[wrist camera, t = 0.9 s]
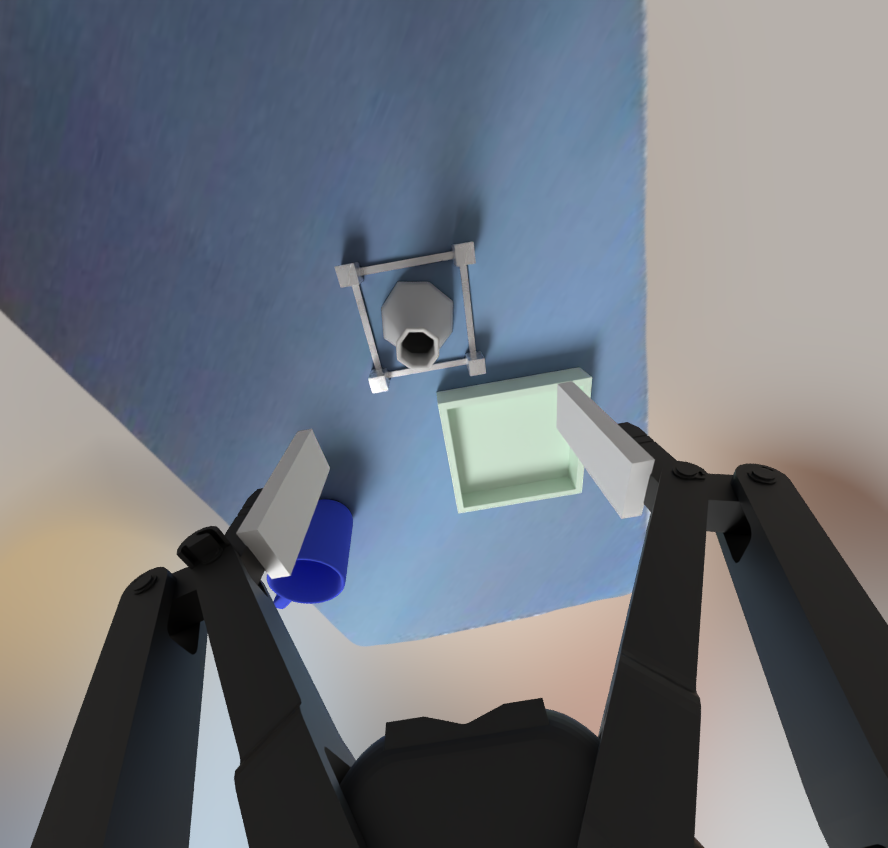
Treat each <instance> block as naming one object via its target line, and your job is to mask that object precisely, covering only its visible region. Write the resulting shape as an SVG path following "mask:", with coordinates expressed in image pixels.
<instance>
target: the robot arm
mask: <svg viewBox="0 0 888 848" xmlns="http://www.w3.org/2000/svg"><path fill="white" fill-rule="evenodd" d="M556 428H557V429H558V431H559V432H560V434H561V435H562V436H563V438H564V439H565V441H566V442H567V443H568V445H569V446H570V448H571V449H572V450H573V452H574V453H575V455H576V456H577V457H578V459H579V460H580V461H581V463H582V464H583V466H584V467H585V468H586V470H587V471H588V473H589V474H590V475H591V477H592V478H593V480H594V481H595V482H596V484H597V485H598V487H599V488H600V489H601V491H602V492H603V494H604V495H605V496H606V498H607V499H608V501H609V502H610V503H611V505H612V506H613V508H614V509H615V510H616V512H617V513H618V515H619V516H620V517H621V519H623V518H629V517H635V516H641V515H642V511H643V507H644V505H645V506H646V507H647V508H648V509H649V510H650V512H651V515H650V518H649V522H648V526H647V530H646V536H645V540H644V544H643V548H642V553H641V557H640V561H639V566H638V570H637V574H636V578H635V583H634V587H633V591H632V596H631V600H630V604H629V609H628V613H627V617H626V621H625V626H624V630H623V634H622V639H621V643H620V647H619V652H618V656H617V660H616V664H615V669H614V673H613V677H612V681H611V686H610V691H609V694H608V698H607V702H606V706H605V710H604V714H603V718H602V722H601V727H600V731H599V735H598V737H597V736H596V735H595V734H594V733H592V732H591V731H590V730H589V729H588V728H586V727H585V726H584V725H582V724H581V723H579V722H578V721H576V720H575V719H573V718H571V717H569V716H567V715H565V714H562V713H559V712H557V711H554V710H549V709H545V706H544V702H543V699H542V698H538V699H532V700H525V701H519V702H513V703H507V704H503V705H501V706H499V707H498V708H495V709H494V710H492V711H490V712H488V713H486V714H484V715H482V716H480V717H479V718H477V719H475V720H473V721H471V722H469V723H467V724H458V723H454V722H449V721H444V720H439V719H433V718H428V717H419V718H412V719H406V720H400V721H393V722H387V723H386V732H385V736H383V737H381V738H380V739H379V740H377V741H376V742H375V743H373V744H372V745H371V746H370V747H369V748H368V749H367V750H366V751H365V752H363V753H362V754H361V756H360V757H359V758H358V759H357V760H355V758H354V757H353V755H352V754H351V752H350V751H349V749H348V747H347V746H346V745H345V743H344V742H343V740H342V738H341V737H340V735H339V733H338V731H337V729H336V727H335V725H334V723H333V721H332V719H331V717H330V715H329V713H328V711H327V709H326V707H325V705H324V703H323V701H322V699H321V697H320V695H319V693H318V691H317V689H316V687H315V685H314V683H313V681H312V679H311V677H310V675H309V673H308V671H307V669H306V667H305V665H304V663H303V661H302V659H301V657H300V655H299V653H298V651H297V649H296V647H295V645H294V643H293V641H292V639H291V637H290V635H289V633H288V631H287V629H286V627H285V625H284V623H283V621H282V619H281V617H280V615H279V613H278V611H277V609H276V607H275V605H274V603H273V601H272V599H271V597H270V595H269V593H268V591H267V589H266V587H265V585H264V583H263V582H262V581H261V577H262V575H263V573H264V571H266V572H267V574H268V575H269V576H270V577H271V579H274V578H280V577H286V576H291V573H292V570H293V567H294V565H295V562H296V559H297V557H298V554H299V551H300V549H301V546H302V543H303V541H304V538H305V535H306V532H307V530H308V527H309V524H310V522H311V519H312V516H313V514H314V511H315V508H316V505H317V503H318V500H319V497H320V495H321V492H322V489H323V487H324V484H325V481H326V478H327V476H328V473H329V470H330V467H329V465H328V463H327V461H326V458H325V456H324V454H323V452H322V450H321V448H320V446H319V443H318V441H317V439H316V437H315V435H314V433H313V430H312V429H308V430H303V431H298V432H297V433H296V435H295V437H294V438H293V440H292V442H291V443H290V445H289V447H288V448H287V450H286V452H285V453H284V455H283V457H282V458H281V460H280V461H279V463H278V465H277V466H276V468H275V470H274V471H273V473H272V475H271V476H270V478H269V480H268V481H267V483H266V485H265V486H264V488H261V489H257V490H256V491H255V492H254V493H253V494H252V495H251V496H250V497H249V498H248V499H247V501H246V502H245V504H244V505H243V507H242V509H241V510H240V512H239V513H238V517H236V518H235V519H234V521H233V523H232V524H231V526H230V527H229V529H228V530H227V532H226V534H225V535H224V534H223V533H222V532H221V531H220V529H219V528H218V527H216V526H210V527H205V528H202V529H201V530H198V531H196V532H195V533H193V534H192V535H190V536H189V537H188V538H186V539H185V540H184V541H183V542H182V543H181V545H180V546H179V548H178V549H177V555H178V557H179V558H180V559H182V561H183V562H184V563H185V564H186V565H187V566H188V567H187V568H184V569H182V570H179V571H177V572H175V573H171V572H170V571H168V570H167V569H166V568H164V567H157V568H154V569H151V570H149V571H147V572H145V573H143V574H142V575H140V576H139V577H138V578H136V579H135V580H134V581H133V582H131V584H130V585H129V586H128V587H127V588H126V589H125V591H124V592H123V594H122V596H121V599H120V601H119V604H118V607H117V610H116V612H115V615H114V618H113V621H112V624H111V626H110V629H109V632H108V635H107V637H106V640H105V643H104V646H103V648H102V651H101V654H100V657H99V660H98V663H97V665H96V668H95V671H94V673H93V676H92V679H91V682H90V684H89V687H88V690H87V693H86V695H85V698H84V701H83V704H82V707H81V709H80V712H79V715H78V718H77V721H76V723H75V726H74V729H73V731H72V734H71V737H70V740H69V743H68V745H67V748H66V751H65V754H64V756H63V759H62V762H61V765H60V767H59V771H58V773H57V776H56V779H55V781H54V784H53V787H52V790H51V792H50V795H49V798H48V801H47V804H46V806H45V809H44V812H43V815H42V817H41V820H40V823H39V826H38V828H37V831H36V834H35V837H34V839H33V842H32V845H31V848H189V837H190V825H191V815H192V804H193V792H194V781H195V769H196V757H197V746H198V736H199V724H200V712H201V701H202V690H203V679H204V667H205V655H206V645H207V634H208V636H209V640H210V643H211V647H212V651H213V655H214V658H215V663H216V667H217V670H218V674H219V678H220V682H221V686H222V690H223V693H224V697H225V701H226V705H227V709H228V713H229V716H230V720H231V724H232V728H233V732H234V735H235V739H236V743H237V747H238V751H239V755H240V766H239V767H238V768H237V769H236V771H235V776H234V780H235V788H236V793H237V798H238V802H239V806H240V810H241V815H242V819H243V823H244V827H245V832H246V836H247V839H248V844H249V848H704V847H703V846H702V845H701V844H700V843H699V841H698V840H697V839H696V838H695V837H694V834H695V815H696V797H697V779H698V759H699V742H700V723H701V704H700V698H699V696H698V694H697V693H696V676H697V661H698V645H699V631H700V616H701V602H702V601H701V600H702V587H703V572H704V557H705V543H706V542H705V541H706V531H711V532H716V535H717V537H718V540H719V543H720V546H721V549H722V552H723V555H724V558H725V561H726V564H727V566H728V569H729V572H730V575H731V578H732V581H733V583H734V587H735V590H736V593H737V595H738V598H739V601H740V604H741V607H742V610H743V613H744V616H745V619H746V621H747V624H748V627H749V630H750V633H751V635H752V639H753V641H754V644H755V647H756V650H757V653H758V656H759V659H760V662H761V664H762V668H763V671H764V673H765V676H766V679H767V682H768V685H769V688H770V691H771V694H772V696H773V699H774V702H775V705H776V708H777V711H778V714H779V717H780V720H781V723H782V725H783V728H784V731H785V734H786V737H787V740H788V743H789V746H790V749H791V751H792V754H793V757H794V760H795V763H796V766H797V769H798V772H799V775H800V777H801V780H802V783H803V786H804V789H805V792H806V794H807V797H808V799H809V802H810V804H811V807H812V809H813V812H814V815H815V817H816V820H817V822H818V825H819V827H820V829H821V831H822V833H823V835H824V838H825V840H826V842H827V844H828V846H829V848H888V625H887V623H886V622H885V620H884V619H883V617H882V616H881V614H880V613H879V611H878V610H877V608H876V607H875V606H874V604H873V602H872V601H871V599H870V598H869V597H868V595H867V594H866V592H865V591H864V589H863V587H862V586H861V585H860V583H859V582H858V580H857V579H856V577H855V576H854V574H853V573H852V571H851V570H850V568H849V567H848V565H847V564H846V562H845V561H844V559H843V558H842V556H841V555H840V553H839V552H838V550H837V549H836V547H835V546H834V545H833V543H832V542H831V540H830V538H829V537H828V536H827V534H826V533H825V531H824V530H823V528H822V527H821V525H820V524H819V522H818V521H817V519H816V518H815V516H814V515H813V513H812V512H811V510H810V509H809V507H808V506H807V504H806V503H805V501H804V500H803V498H802V497H801V495H800V494H799V493H798V491H797V490H796V488H795V487H794V485H793V484H792V482H791V481H790V479H789V478H788V477H787V476H786V475H785V474H783V473H781V472H780V471H778V470H776V469H774V468H771V467H768V466H765V465H759V464H743V465H740V466H738V467H737V468H736V470H735V472H734V474H733V475H724V474H708V473H707V472H706V471H705V470H704V469H702V468H701V467H699V466H697V465H694V464H692V463H688V462H682V461H677V460H676V459H674V458H673V457H672V456H671V455H670V454H669V453H667V452H666V451H665V450H664V449H663V448H662V447H661V446H659V445H658V444H657V443H656V442H654V441H653V439H651V438H650V437H649V436H647V434H646V433H645V432H643V431H642V430H641V429H640V428H639V427H637V426H635V425H632V424H630V423H628V422H625V423H619V424H617V423H616V422H615V421H614V420H613V419H612V418H610V417H609V416H608V415H607V414H606V413H605V412H604V411H603V410H602V409H601V408H600V407H599V406H598V405H597V404H596V403H595V402H594V401H593V400H592V399H591V398H589V397H588V396H587V395H586V394H585V393H584V392H583V391H582V390H581V389H580V388H579V387H578V386H577V385H576V384H575V383H574V382H573V381H570V382H564V383H559V384H558V385H557V422H556Z"/></svg>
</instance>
